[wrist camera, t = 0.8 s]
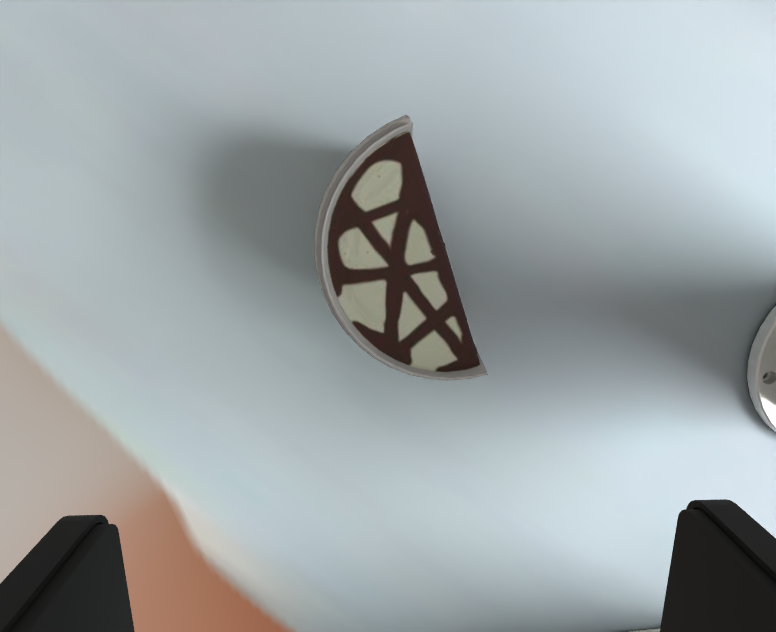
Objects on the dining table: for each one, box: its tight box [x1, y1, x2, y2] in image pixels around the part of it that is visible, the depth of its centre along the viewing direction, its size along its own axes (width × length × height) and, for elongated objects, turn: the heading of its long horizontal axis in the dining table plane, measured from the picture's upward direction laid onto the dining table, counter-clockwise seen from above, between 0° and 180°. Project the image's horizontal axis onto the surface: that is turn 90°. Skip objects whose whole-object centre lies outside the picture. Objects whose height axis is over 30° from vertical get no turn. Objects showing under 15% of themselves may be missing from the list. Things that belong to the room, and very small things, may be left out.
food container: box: [314, 115, 488, 380], centre depth 27 cm, size 12×6×10 cm, turn 18°
